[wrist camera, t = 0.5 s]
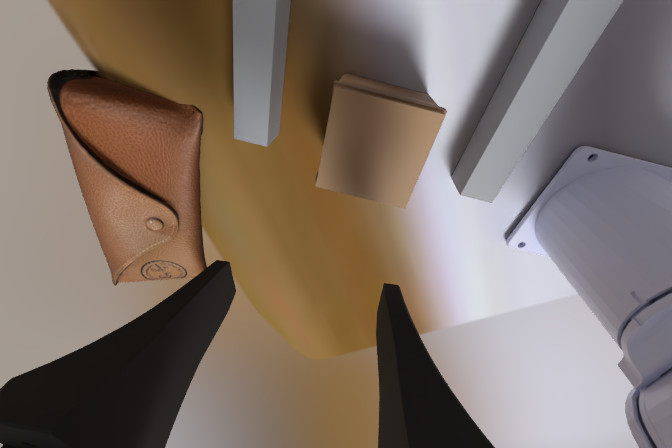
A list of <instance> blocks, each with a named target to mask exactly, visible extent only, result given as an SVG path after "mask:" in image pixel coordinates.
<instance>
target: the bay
mask: <svg viewBox="0 0 672 448" xmlns="http://www.w3.org/2000/svg"><path fill="white" fill-rule="evenodd" d="M622 2H623V0H541V2H540V4H539V6H538V8H537V10H536V12H535V14H534V16H533V18H532V20H531V22H530V24H529V26H528V28H527V30H526V32H525V34H524V36H523V38H522V39H521V41H520V43H519V45H518V47H517V49H516V51H515V53H514V55H513V57H512V59H511V61H510V63H509V65H508V67H507V69H506V71H505V73H504V75H503V77H502V79H501V81H500V82H499V84H498V86H497V88H496V90H495V92H494V94H493V96H492V98H491V100H490V102H489V104H488V106H487V108H486V110H485V112H484V114H483V116H482V118H481V120H480V122H479V124H478V125H477V127H476V129H475V131H474V133H473V135H472V137H471V139H470V141H469V143H468V145H467V147H466V149H465V151H464V153H463V155H462V157H461V159H460V161H459V163H458V165H457V167H456V169H455V170H454V172H453V174H452V176H451V178H452V180H453V182H454V184H455V186H456V188H457V190H458V192H459V194H460V195H462V196H466V197H470V198H474V199H478V200H482V201H486V202H490V203H492V202H493V200H494V199H495V197H496V196H497V194H498V193H499V191H500V189H501V188H502V186H503V185H504V183H505V182H506V180H507V179H508V177H509V176H510V174H511V173H512V171H513V169H514V168H515V166H516V165H517V163H518V162H519V160H520V159H521V157H522V156H523V154H524V153H525V151H526V149H527V148H528V146H529V145H530V143H531V142H532V140H533V139H534V137H535V136H536V134H537V133H538V131H539V129H540V128H541V126H542V125H543V123H544V122H545V120H546V119H547V117H548V116H549V114H550V113H551V111H552V110H553V108H554V106H555V105H556V103H557V102H558V100H559V99H560V97H561V96H562V94H563V93H564V91H565V90H566V88H567V86H568V85H569V83H570V82H571V80H572V79H573V77H574V76H575V74H576V73H577V71H578V70H579V68H580V66H581V65H582V63H583V62H584V60H585V59H586V57H587V56H588V54H589V53H590V51H591V50H592V48H593V46H594V45H595V43H596V42H597V40H598V39H599V37H600V36H601V34H602V33H603V31H604V30H605V28H606V26H607V25H608V23H609V22H610V20H611V19H612V17H613V16H614V14H615V13H616V11H617V10H618V8H619V6H620V5H621V3H622ZM290 5H291V0H233V70H234V139H238V140H242V141H246V142H250V143H254V144H258V145H262V146H266V147H267V146H268V145H269V144H270V143H271V142H272V141H273V140H274V139H275V138H276V137H277V136H278V135H279V131H280V119H281V108H282V96H283V85H284V74H285V62H286V51H287V39H288V28H289V16H290Z"/></svg>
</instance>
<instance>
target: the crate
mask: <svg viewBox="0 0 672 448" xmlns="http://www.w3.org/2000/svg"><path fill="white" fill-rule="evenodd" d="M331 96H332V102H331V108H330V113H329V118H328V124H327V129H326V134H325V140H324V145H323V150H322V155H321V161H320V166H319V170H318V173H317V176H316V181H315V184H316V187H320V188H324V189H328V190H332V191H336V192H340V193H344V194H348V195H352V196H356V197H360V198H364V199H368V200H372V201H376V202H380V203H384V204H388V205H392V206H396V207H401V208H406V205H407V203H408V201H409V198H410V196H411V194H412V191H413V189H414V187H415V185H416V182H417V180H418V178H419V175H420V173H421V171H422V168H423V166H424V164H425V162H426V159H427V157H428V155H429V152H430V150H431V148H432V145H433V143H434V141H435V138H436V136H437V134H438V132H439V129H440V127H441V125H442V122H443V120H444V118H445V114H446V112H447V111H446V109H445V108H442V107H439V106H438V105H437V104H436V103H435V102H434V100H433V99H432V98H431V97H430V96H429V95H428V94H426V93H422V92H418V91H414V90H410V89H406V88H403V87H399V86H395V85H391V84H387V83H383V82H379V81H376V80H372V79H368V78H364V77H360V76H356V75H352V74H349V73H344V75H343V76H342V77H341V79H340V80H339V81H338V80H335V81H334V84H333V90H332V95H331Z"/></svg>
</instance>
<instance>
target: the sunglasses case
mask: <svg viewBox="0 0 672 448" xmlns="http://www.w3.org/2000/svg"><path fill="white" fill-rule="evenodd" d="M47 83H48V92H49V96H50V99H51V102H52V104H53V106H54V108H55V111H56V113H57V115H58V117H59V119H60V121H61V124H62V128H63V131H64V135H65V138H66V142H67V145H68V149H69V153H70V156H71V159H72V162H73V165H74V169H75V172H76V175H77V179H78V182H79V185H80V188H81V191H82V193H83V197H84V200H85V202H86V205H87V208H88V212H89V214H90V217H91V220H92V223H93V226H94V228H95V231H96V234H97V237H98V239H99V241H100V244H101V248H102V250H103V252H104V255H105V257H106V259H107V262H108V265H109V268H110V270H111V274H112V281H113V284H114V285H117V283H118V282H135V281H148V280H163V279H178V278H190V277H191V278H192V277H196V276H197V275H198V274H200V273H201V272H202V271H203V270H205V269H206V268H207V266H206V261H205V256H204V248H203V234H202V226H201V206H200V169H199V159H200V140H201V135H202V131H203V117H202V113H201V112H200V111H199V110H198V108H197V107H195V106H193V105H187V104H179V103H175V102H173V101H170V100H167V99H164V98H161V97H158V96H154V95H152V94H149V93H146V92H142V91H140V90H136V89H134V88H130V87H127V86H124V85H122V84H118V83H116V82H112V81H109V80H106V79H103V78H102V77H101V76H100V75H99V73H98V72H97V71H94V70H73V69H72V70H62V71H58V72H57V73H54V74H52V75H51V76H50V77H49V79H48V82H47Z"/></svg>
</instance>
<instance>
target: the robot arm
mask: <svg viewBox="0 0 672 448" xmlns="http://www.w3.org/2000/svg"><path fill="white" fill-rule="evenodd" d="M592 154H594V155H593V157H592V158H590V159H588V157H589V156H590V155H592ZM587 159H588V160H587ZM521 242H523V243H522V244H519V243H521ZM506 243H507V245H508V246H509V247H510V248H513V249H517V250H522V251H526V252H530V253H534V254H538V255H542V256H546V257H550V258H551V259H552V261H553V262H554V263H555V264H556V266H557V267H558V268H559V270H560V271H561V272H562V273H563V275H564V276H565V277H566V279H567V280H568V281H569V283H570V284H571V285H572V286H573V288H574V289H575V290H576V292H577V293H578V294H579V295H580V296H581V298H582V299H583V301H584V302H585V303H586V304H587V306H588V307H589V308H590V309H591V311H592V312H593V313H594V315H595V316H596V317H597V318H598V320H599V321H600V322H601V324H602V325H603V326H604V328H605V329H606V330H607V331H608V333H609V334H610V335H611V337H612V338H613V339H614V340H615V342H616V343H617V344H618V346H619V347H620V348H621V349H622V350H623V353H624V357H623V359H622V360H621V361H620V362H619V363H618V366H619V367H620V369H621V370H622V371H623V373H624V374H625V375H626V377H627V378H628V379H629V381H630V382H631V384H632V385H633V386H634V388H633V389H632V390H631V392H630V393H629V394H628V396H627V400H626V403H625V412H626V417H627V421H628V425H629V427H630V430H631V432H632V435H633V437H634V439H635V440H636V442H637V444H638V446H639V448H672V168H671V167H667V166H663V165H660V164H656V163H652V162H648V161H644V160H640V159H636V158H632V157H629V156H625V155H621V154H617V153H613V152H609V151H605V150H601V149H597V148H594V147H590V146H581V147H579V148H577V149H576V150H575V151H574V152H573V153H572V154H571V156H570V157H569V158H568V160H567V161H566V162H565V163H564V165H563V166H562V167H561V169H560V170H559V171H558V173H557V174H556V175H555V177H554V178H553V179H552V181H551V182H550V183H549V185H548V186H547V187H546V188H545V190H544V191H543V192H542V194H541V195H540V196H539V198H538V199H537V200H536V202H535V203H534V204H533V206H532V207H531V208H530V209H529V211H528V212H527V213H526V215H525V216H524V217H523V219H522V220H521V221H520V223H519V224H518V225H517V227H516V228H515V229H514V231H513V232H512V233H511V234H510V236H509V237H508V238H507V240H506ZM235 292H236V289H235V284H234V280H233V276H232V271H231V267H230V262H227V261H219V260H216V261H215V262H214V263H213V264H211V265H210V266H209V267H207V268H206V269H205V270H203V271H202V272H201V273H200V274H198V275H197V276H196V277H194V278H193V279H192V280H191V281H189V282H188V283H187V284H185V285H184V286H183V287H181V288H180V289H179V290H177V291H176V292H175V293H173V294H172V295H171V296H169V297H168V298H166V299H165V300H163V301H162V302H160V303H159V304H158V305H156V306H155V307H154V308H152V309H150V310H149V311H147V312H146V313H144V314H142V315H141V316H139V317H138V318H136V319H134V320H133V321H131V322H129V323H128V324H126V325H124V326H123V327H121V328H119V329H117V330H115V331H113V332H112V333H110V334H108V335H106V336H104V337H102V338H100V339H98V340H97V341H95V342H93V343H91V344H89V345H87V346H85V347H83V348H81V349H78V350H77V351H74V352H72V353H70V354H68V355H66V356H64V357H62V358H59V359H57V360H55V361H52V362H50V363H48V364H45V365H43V366H41V367H38V368H36V369H33V370H31V371H29V372H26V373H24V374H21V375H19V376H16V377H14V378H12V379H10V380H9V381H8V382H7V383H6V384H5V385H4V386H3V387H2V388H1V389H0V443H2V444H3V446H2V447H1V448H165V446H166V443H167V440H168V438H169V435H170V432H171V430H172V427H173V424H174V422H175V419H176V417H177V414H178V412H179V409H180V407H181V404H182V402H183V400H184V397H185V395H186V392H187V390H188V388H189V385H190V383H191V381H192V379H193V376H194V374H195V372H196V370H197V367H198V365H199V363H200V361H201V359H202V357H203V356H204V353H205V352H206V350H207V348H208V347H209V345H210V343H211V341H212V339H213V338H214V336H215V334H216V332H217V331H218V329H219V327H220V325H221V323H222V322H223V320H224V318H225V316H226V314H227V312H228V310H229V308H230V305H231V303H232V300H233V298H234V295H235ZM376 338H377V355H378V370H379V392H380V401H379V437H378V448H495V447H494V446H493V445H492V444H491V442H490V441H489V440H488V439H487V438H486V436H485V435H484V434H483V433H482V431H481V430H480V429H479V427H478V426H477V425H476V424H475V422H474V421H473V420H472V418H471V417H470V416H469V414H468V413H467V412H466V410H465V409H464V408H463V406H462V405H461V403H460V402H459V400H458V399H457V398H456V396H455V395H454V393H453V392H452V391H451V389H450V388H449V386H448V384H447V383H446V382H445V380H444V378H443V377H442V376H441V374H440V372H439V370H438V369H437V367H436V365H435V364H434V362H433V360H432V359H431V357H430V355H429V353H428V351H427V349H426V348H425V346H424V344H423V342H422V340H421V338H420V336H419V334H418V332H417V330H416V328H415V325H414V323H413V321H412V319H411V317H410V314H409V312H408V309H407V307H406V304H405V302H404V299H403V296H402V293H401V290H400V287H399V286H398V285H394V284H386V283H384V286H383V290H382V294H381V298H380V302H379V307H378V311H377V328H376Z"/></svg>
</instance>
